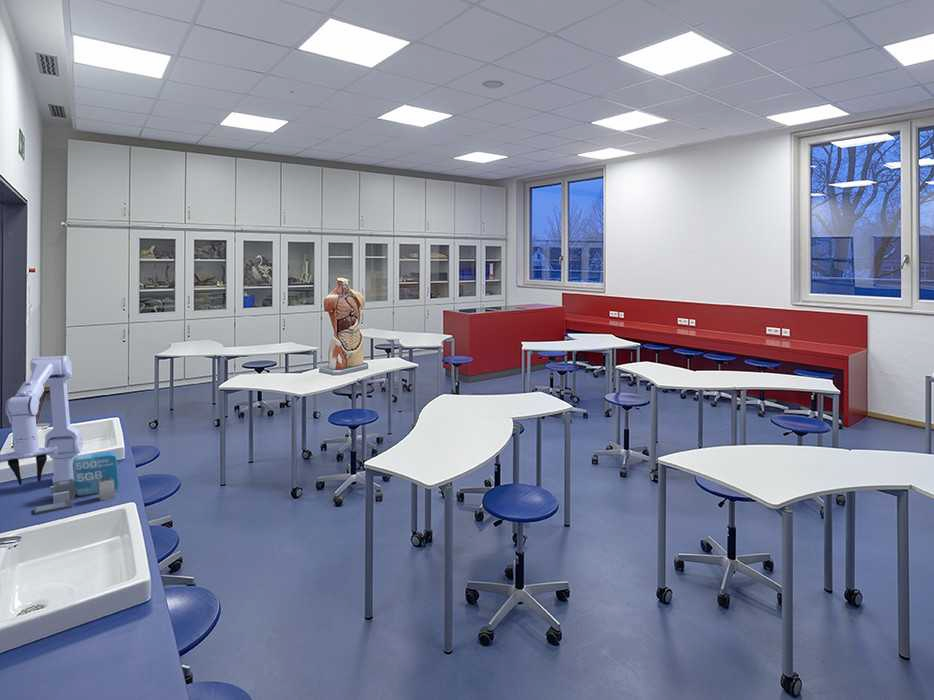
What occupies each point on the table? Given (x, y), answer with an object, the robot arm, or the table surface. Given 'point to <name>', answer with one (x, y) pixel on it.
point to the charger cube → (65, 487)
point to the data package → (93, 471)
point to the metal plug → (106, 488)
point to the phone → (52, 507)
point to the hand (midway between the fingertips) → (29, 482)
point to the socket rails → (59, 496)
